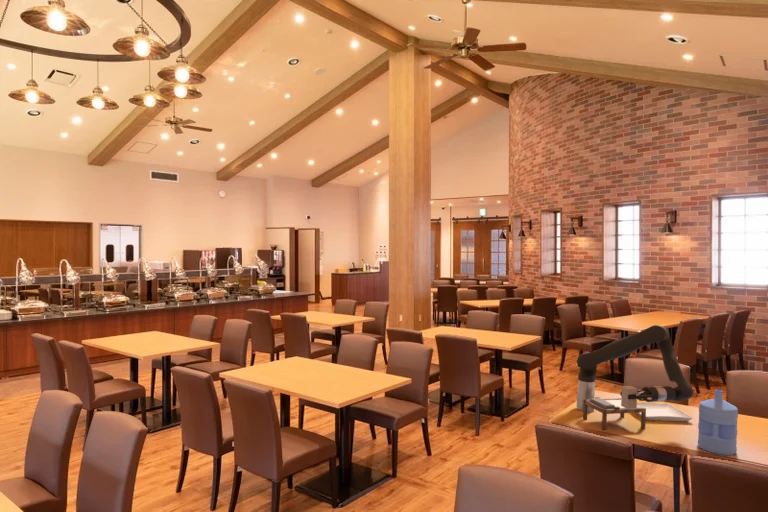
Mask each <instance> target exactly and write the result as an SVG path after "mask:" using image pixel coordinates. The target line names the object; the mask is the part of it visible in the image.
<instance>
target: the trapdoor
mask: <svg viewBox="0 0 768 512" xmlns="http://www.w3.org/2000/svg"><path fill="white" fill-rule="evenodd" d="M603 399H604V398H601V397H599V398H591V402H592V403H594V404H596V405H598V406H600V407H602V408H604V409H615V407H617V406H618V407H620V409H624V408H625V407H623V406H621V400H603ZM637 408H639V407H637Z"/></svg>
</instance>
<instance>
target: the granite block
mask: <svg viewBox="0 0 768 512" xmlns="http://www.w3.org/2000/svg"><path fill="white" fill-rule="evenodd" d="M637 390H638V387H635V386H632V385H622V386H621V391H622V396H621V395H620V396H621V406H623V407H625V408H627V409H636V408H637V402H638V400H636V399H628V395H632V394H637Z"/></svg>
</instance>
